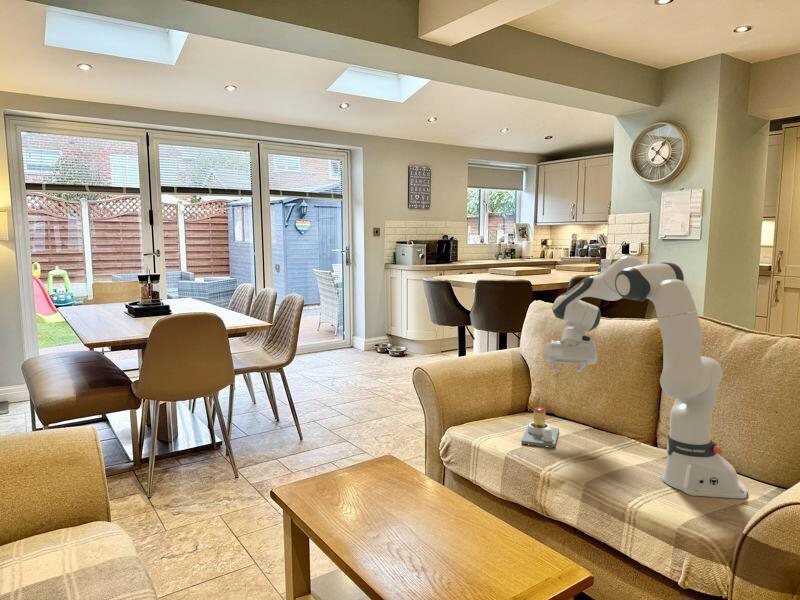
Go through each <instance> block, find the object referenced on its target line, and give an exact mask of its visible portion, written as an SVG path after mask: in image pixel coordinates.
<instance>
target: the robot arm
mask: <svg viewBox="0 0 800 600" xmlns="http://www.w3.org/2000/svg"><path fill="white" fill-rule="evenodd" d="M684 280H685V277H684V272H683V270H682V268H681V267H680V266H679V265H678V264H676V263H674V262H673V263H672V262H666V261H665V262H654V263H643V262H642V260H641V259H640V258H638V257H636V256H634V255H625V256H622V257H620V258H618V259H617V260H615V261H614V262H613V263H612V264H611V265H609V267H608V268H606V270H605V271H603V272H601V273H599V274H596V275H591V276H587V277H585V278H583V279H582V280H581V281H579V282H578V283H577V284H575V285H574V286H573V287H572V288H570V289H568V290H567V291H566V292H564V293H561V294H560V295H559V296H557V297H556V298H555V300H554V302H553V304H552V307H551V310H552V313H553V314H554V316H555V318H557V319H559V320H561V321H562V320H564V325H563V328H564V329H563V331H562V334H561V338H560V340H549V341H547V342H546V343H545V346H544V350H543V353H542V358H543V360H544V361H545V362H547V363H548V362H549V363H551V365H552V367H551V370H552V371H553V372H555V371H556V372H557V371H558V365H557V363H562V364H563V363H564V364H565V363H566V364H579V365H577V369H576V371H577V373H582V372H583V369H584V368H586V366H587V365H595V364H596V363H597V361H598V354H597V353H598V352H597V348H596V347H597V345H596V342H595V339H594V338H593V337H591V336H588V335H586V333H589V332H591V331H594V330H595V329H596V328H597V327H598V326H599V325H600V322H601V318H602V317H601V316H602V313H601V310H600V308H599V307H598V306H596V305H594V304H592V303H589V302H586V301H583V300H581V299H583V298H596V299H601V300H604V301H608V302H609V301H610V302H611V301H612V302H613V301H614V302H615V301H618V300H621V299H626V300H632V301H638V302H644V301H645V300H646V299H647V300H649V301H650V302H652V303H653V305H654V308H655V312H656V313H655V314H656V318H657V322H658V327H659V330H660V335H661V339H662V348H663V350H662V351H663V352H662V355H663V357H662V358H663V359H662V362H663V363H662V372H661V374H660V377H659V384H660V386H661V389H662V391H663V392H664V393H665V394H666V395H667V396H669V397H671V398H672V399H673V398H674V399H675V400H674V403H673V405H672V407H671V409H670V412H669V416H670V417H669V434H668V435H667V441H666V452H667V458H666V462H665V463H666V464H665V467H664V471H663V473H662V476H661V479H662V481H663V482H664V483H665V484H667V485H668V486H670V487H672V488H674V489H677V490H679V491H682V492H683V493H685V494H687V495H689V496H692V497H693V496H694V497H709V498H710V497H711V498H725V499H726V498H727V499H743V500H744V499H745V498H746V497H748V490H747V488H746V485H745V484H744V483H743V482H742V481H740V480H739V477H738V473H737V471H736V469H735V467H734V466H733V465H732V464H731V463H730V462H728V461H727V460H726V459H725V458H724V457H722V456H721V453H722V452H723V451H722V448H721V447H720V446H719V445H718V444H717V442H715V441H714V440H713V439H711V431H712V430H711V429H712V419H713V418H712V417H713V412H714V408H715V403H716V401H717V400H716V399H717V394H718V391H719V390H718V389H719V388H720V383H721V381H722V379H723V377H724V371H723V367H722V366H721V365H720V363H719V362H718V361H717V360H716V359H714V358H712V357H709V356H703V355H702V341H703V339H704V338H703V332H702V327H701V323H700V319H699V318H700V317H699V315H698V311H697V307H696V304H695V301H694V299H693V298H694V297H693V295H692V294H691V293H692V292H691V291H690V289H689V286H688V285H687V283H686V282H685V281H684Z"/></svg>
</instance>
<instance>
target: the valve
mask: <svg viewBox="0 0 800 600" xmlns="http://www.w3.org/2000/svg"><path fill="white" fill-rule="evenodd" d="M533 422H534V427H535V428H545V423H546V408H544V407H540V406H539V407H534V408H533Z"/></svg>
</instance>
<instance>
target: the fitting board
mask: <svg viewBox="0 0 800 600" xmlns="http://www.w3.org/2000/svg"><path fill="white" fill-rule="evenodd" d="M559 432H560V428H557V427H551V425H550V424H549V423H547V422H545V428H535V427H534V421H532V422H529V423H528V425H527V426H526V429H525V430H524V434H523V436H522V439H521V445H522V444H529V445H528V446H531V445H537V446H536V447H539V446H548V447H555V448H556V446H555V445H557V442H558V437H559ZM556 441H557V442H556Z"/></svg>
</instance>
